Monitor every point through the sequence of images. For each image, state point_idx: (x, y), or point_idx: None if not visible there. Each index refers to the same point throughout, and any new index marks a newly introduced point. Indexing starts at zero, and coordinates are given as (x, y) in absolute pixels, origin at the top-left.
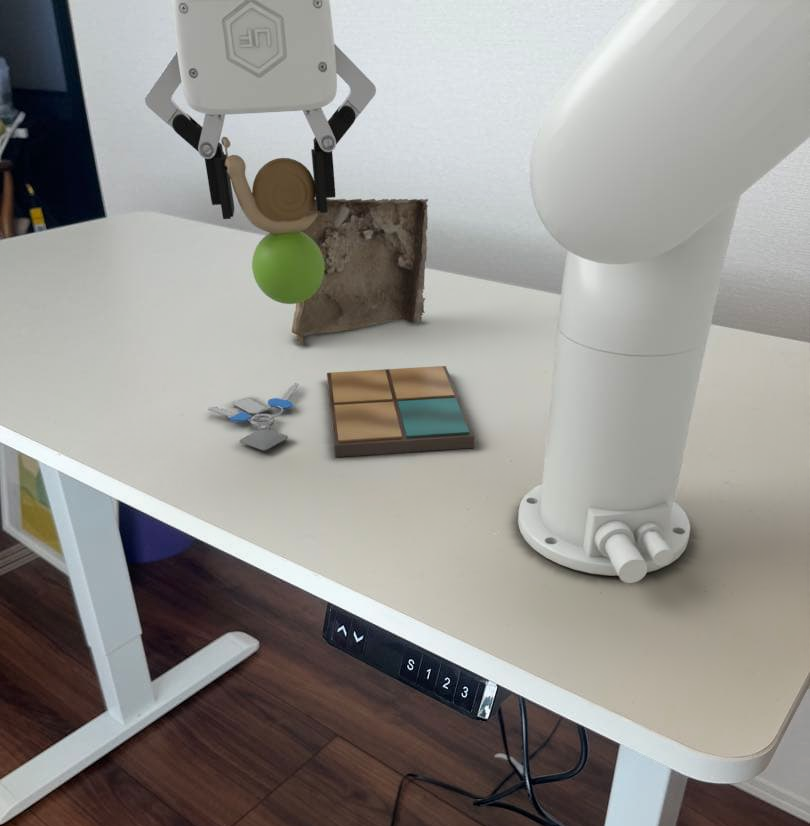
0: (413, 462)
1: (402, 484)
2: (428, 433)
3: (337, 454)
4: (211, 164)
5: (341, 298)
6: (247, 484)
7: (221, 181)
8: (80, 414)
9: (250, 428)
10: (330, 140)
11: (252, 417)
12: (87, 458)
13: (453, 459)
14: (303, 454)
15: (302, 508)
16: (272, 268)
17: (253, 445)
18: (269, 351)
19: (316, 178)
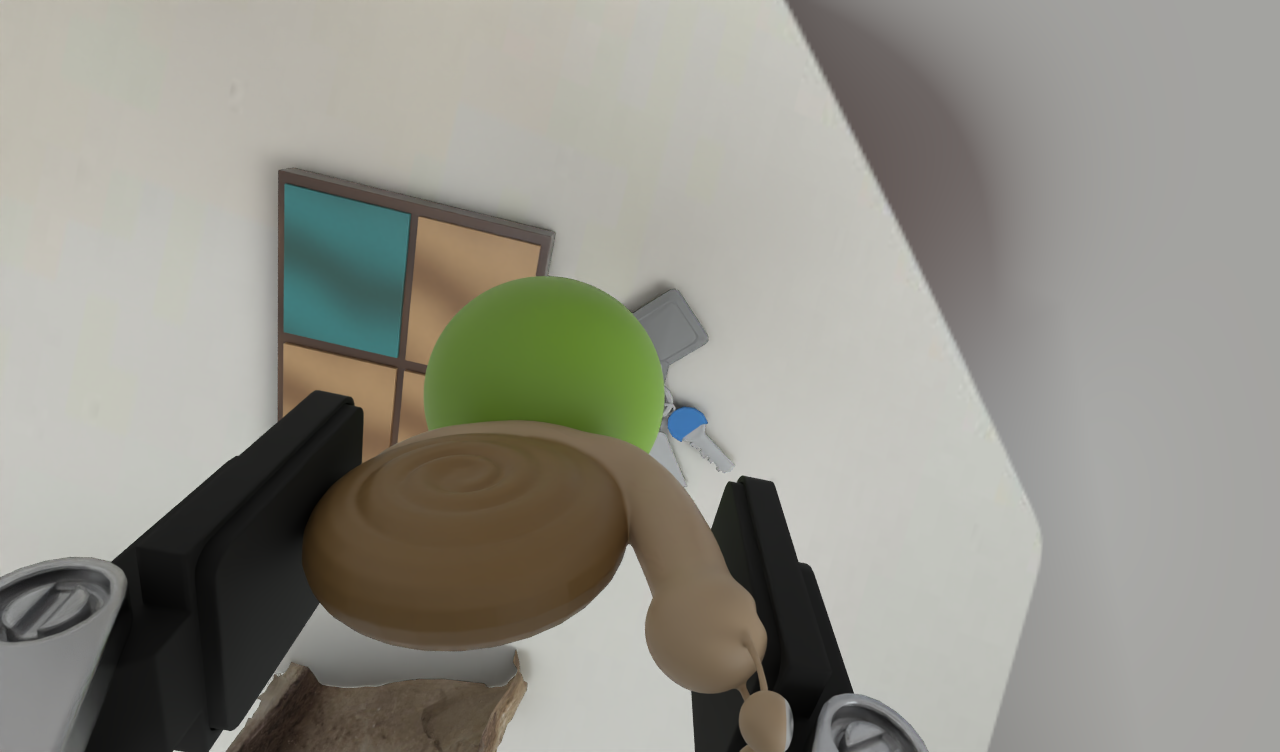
0: (419, 158)
1: (458, 82)
2: (365, 207)
3: (550, 231)
4: (823, 691)
5: (414, 737)
6: (729, 195)
7: (782, 579)
8: (930, 541)
9: (674, 394)
10: (10, 609)
11: (666, 412)
12: (959, 390)
13: (341, 140)
14: (608, 266)
15: (657, 66)
16: (614, 319)
17: (689, 310)
18: (577, 649)
19: (280, 479)
